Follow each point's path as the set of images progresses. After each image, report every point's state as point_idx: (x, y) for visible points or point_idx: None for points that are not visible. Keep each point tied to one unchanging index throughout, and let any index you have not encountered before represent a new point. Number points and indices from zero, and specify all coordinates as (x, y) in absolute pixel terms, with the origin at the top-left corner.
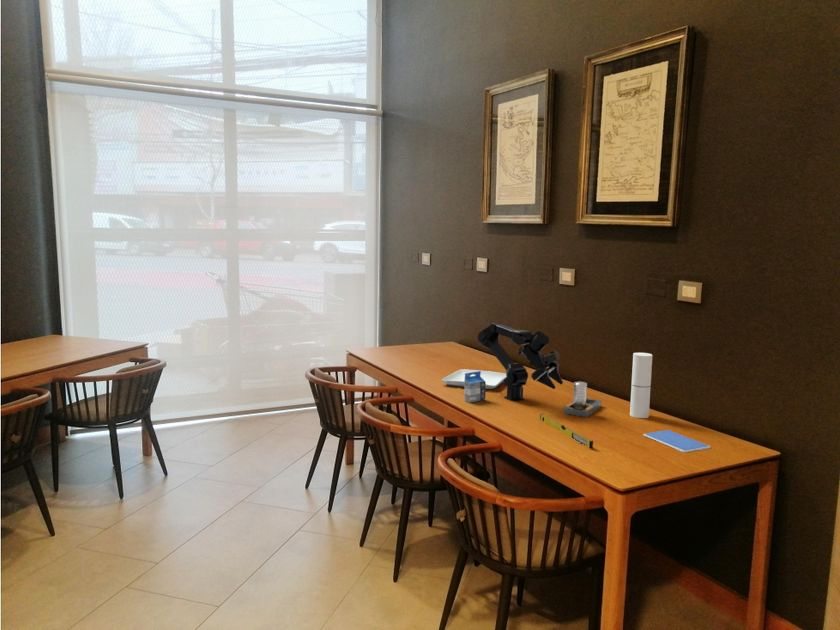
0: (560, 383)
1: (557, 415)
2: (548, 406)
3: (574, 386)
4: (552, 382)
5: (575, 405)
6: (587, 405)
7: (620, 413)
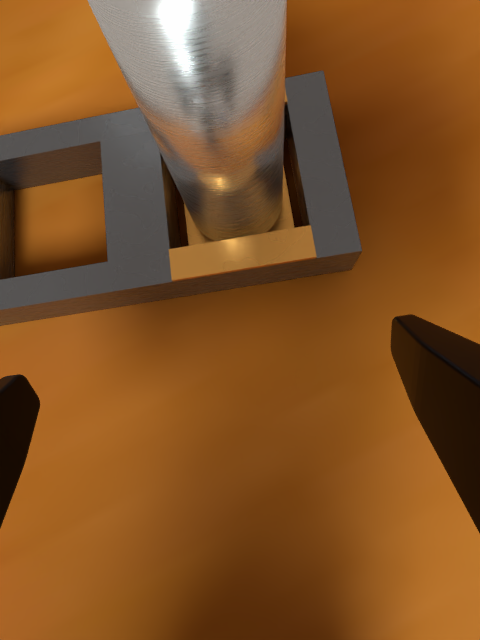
0: (31, 416)
1: (431, 281)
2: (239, 472)
3: (261, 33)
4: (474, 362)
5: (282, 173)
6: (156, 147)
7: (79, 21)
